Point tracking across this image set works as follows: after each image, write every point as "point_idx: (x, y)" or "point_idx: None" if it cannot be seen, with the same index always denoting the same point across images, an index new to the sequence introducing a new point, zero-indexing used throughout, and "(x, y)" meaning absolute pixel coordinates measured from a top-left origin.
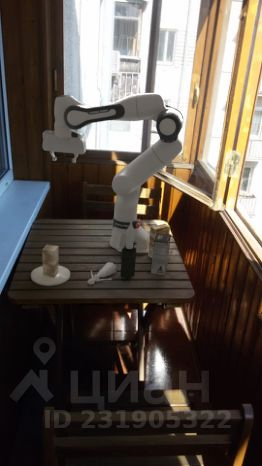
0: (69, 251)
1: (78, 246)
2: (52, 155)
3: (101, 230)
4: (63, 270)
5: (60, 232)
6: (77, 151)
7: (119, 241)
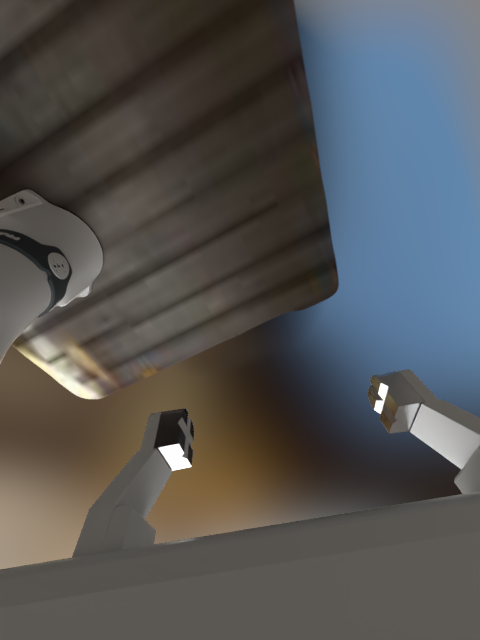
0: (159, 111)
1: (157, 168)
2: (457, 418)
3: (166, 301)
4: None
5: (254, 240)
6: (3, 632)
7: (21, 207)
